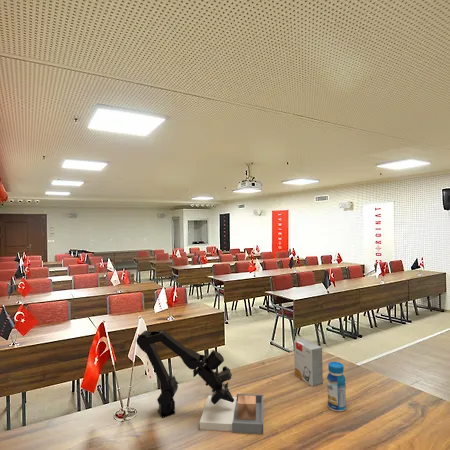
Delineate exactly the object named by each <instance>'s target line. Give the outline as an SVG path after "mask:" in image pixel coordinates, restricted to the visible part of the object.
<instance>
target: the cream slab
mask: <svg viewBox="0 0 450 450" xmlns="http://www.w3.org/2000/svg"><path fill="white" fill-rule="evenodd" d="M211 397H212V395H211V394H210V395H208V396H207V399H206V401H205V405H204V408H203V411H202V414H201V417H200V420H199V430H201V431H202V430H203V431H205V430H206V431H219V432H221V431H224V432H232V422H234V418H235V411H236V405H237V395H236V396H233V395H232V397H233V399H234V402H230V401H227V400H223V399H220V400H219V401H218V402H217V403H216V404H213V403H212V402H211Z"/></svg>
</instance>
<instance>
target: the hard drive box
mask: <svg viewBox="0 0 450 450" xmlns="http://www.w3.org/2000/svg"><path fill="white" fill-rule="evenodd" d="M293 351H294V352H293V354H294V359H293V360H294V376H296V377H297V378H298V379H300V380H302V381H303V382H305V383H306V384H308V385H310V386H311V387H315V386H320V385H323V384H324V380H323V379H324V378H323V377H324V376H323V375H324V374H323V371H324V370H323V347H322V346H320V345H318V344H316V343H314V342H312V341H310V340H308V339H305V338H300V339H296V340H293Z"/></svg>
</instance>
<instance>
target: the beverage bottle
mask: <svg viewBox="0 0 450 450" xmlns="http://www.w3.org/2000/svg"><path fill="white" fill-rule="evenodd" d="M327 368H328V374H327V377H326V379H327V381H326V386H327V406H328V408H329V409H330V410H332V411H335V412H343V411H345V410H346V409H347V402H346V401H347V398H346V388H347V384H346V378H345V377H346V376H345V375H344V372H345V371H344V370H345V369H344V364H343V363H342V362H339V361H330V362H328V367H327Z"/></svg>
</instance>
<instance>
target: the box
mask: <svg viewBox="0 0 450 450" xmlns="http://www.w3.org/2000/svg"><path fill="white" fill-rule="evenodd" d="M238 395H250V396H256V420H244V419H238V407H237V405H236V411H235V418H234V422H232V431H231V432H232V433H237V434H254V435H256V434H257V435H264V407H265V406H264V394H257V393H255V394H253V393H236V397H237V403H238Z"/></svg>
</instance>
